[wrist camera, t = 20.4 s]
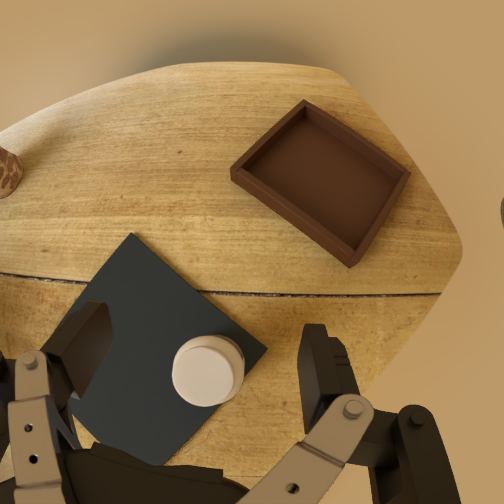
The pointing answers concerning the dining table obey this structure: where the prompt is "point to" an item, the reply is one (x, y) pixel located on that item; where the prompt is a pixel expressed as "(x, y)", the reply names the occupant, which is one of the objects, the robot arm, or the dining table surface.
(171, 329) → the mat
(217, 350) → the pill bottle
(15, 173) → the figurine
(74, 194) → the dining table surface
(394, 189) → the tray
